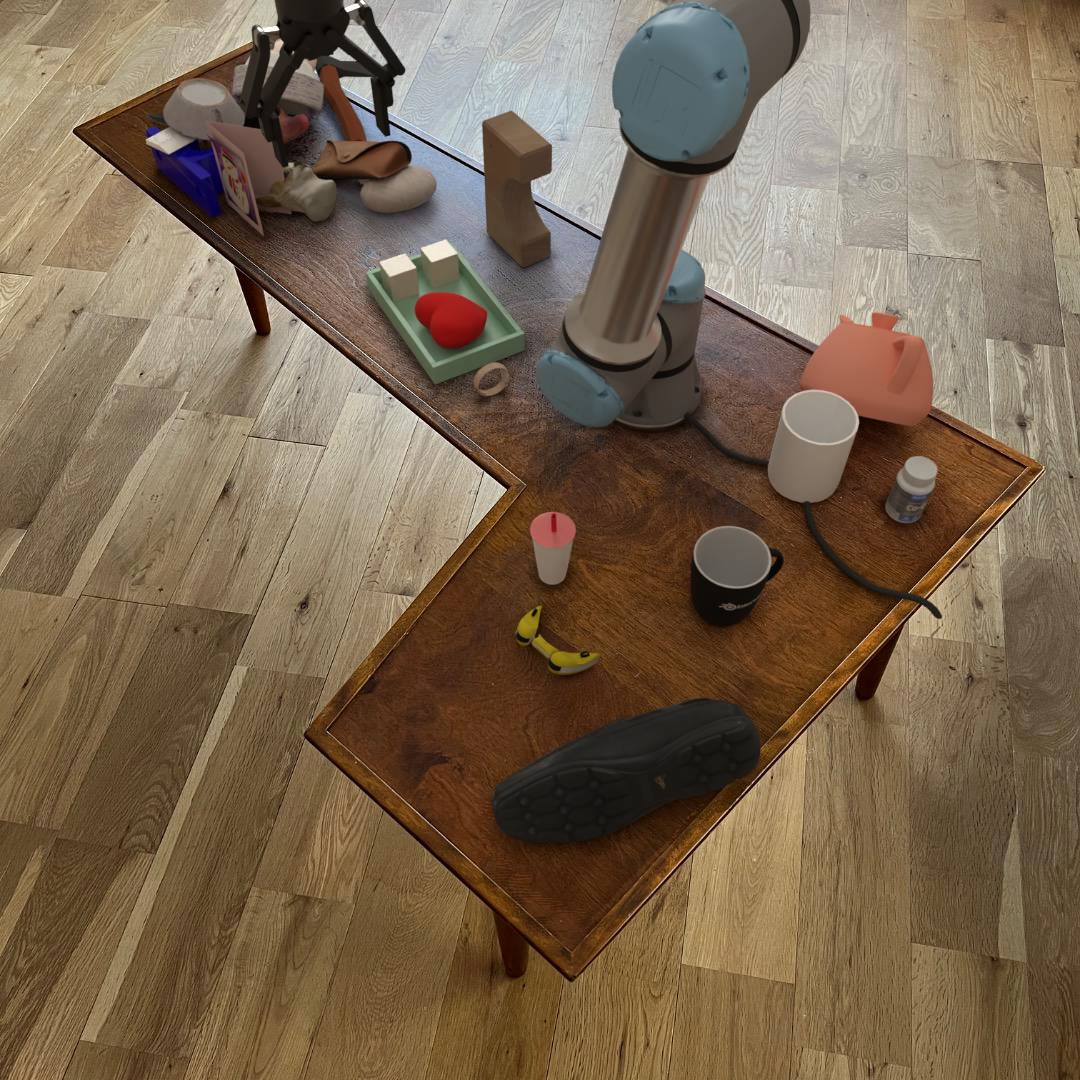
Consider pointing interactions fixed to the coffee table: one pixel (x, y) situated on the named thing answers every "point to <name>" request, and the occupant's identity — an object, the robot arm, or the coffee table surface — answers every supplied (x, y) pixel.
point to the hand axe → (341, 93)
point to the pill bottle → (911, 489)
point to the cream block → (440, 263)
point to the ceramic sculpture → (301, 192)
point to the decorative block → (515, 186)
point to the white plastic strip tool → (168, 140)
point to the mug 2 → (812, 445)
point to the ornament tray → (437, 361)
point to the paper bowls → (289, 88)
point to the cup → (552, 545)
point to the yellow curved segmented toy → (552, 648)
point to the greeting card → (245, 168)
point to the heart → (451, 318)
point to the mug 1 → (730, 574)
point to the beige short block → (399, 278)
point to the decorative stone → (399, 190)
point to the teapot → (874, 370)
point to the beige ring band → (499, 387)
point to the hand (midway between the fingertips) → (333, 146)
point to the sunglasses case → (362, 159)
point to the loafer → (627, 771)
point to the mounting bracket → (192, 173)
